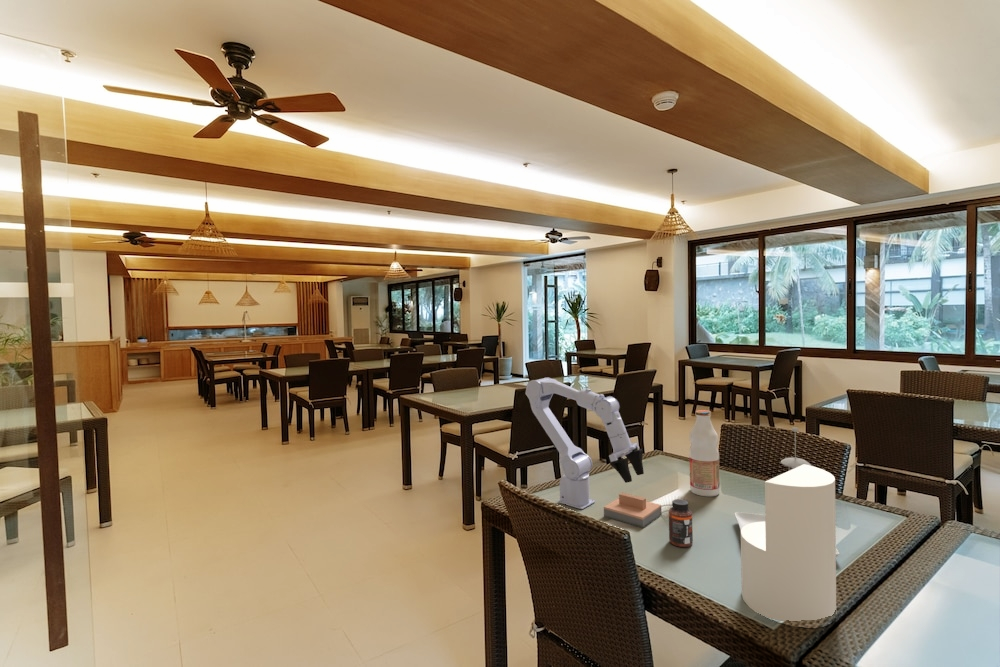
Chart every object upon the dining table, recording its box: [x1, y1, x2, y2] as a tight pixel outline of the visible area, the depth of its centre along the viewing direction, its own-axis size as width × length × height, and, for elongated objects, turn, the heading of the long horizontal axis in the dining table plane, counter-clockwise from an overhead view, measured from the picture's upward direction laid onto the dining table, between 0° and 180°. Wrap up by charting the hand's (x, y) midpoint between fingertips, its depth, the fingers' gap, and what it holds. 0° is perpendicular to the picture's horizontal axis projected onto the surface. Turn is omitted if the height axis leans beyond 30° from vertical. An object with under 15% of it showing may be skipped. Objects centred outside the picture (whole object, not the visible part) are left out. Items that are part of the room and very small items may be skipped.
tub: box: [603, 507, 662, 529], centre depth 150 cm, size 13×12×2 cm
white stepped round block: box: [740, 464, 837, 621], centre depth 103 cm, size 17×17×28 cm
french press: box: [780, 426, 812, 471], centre depth 153 cm, size 10×12×25 cm
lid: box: [603, 492, 662, 520], centre depth 150 cm, size 13×12×4 cm
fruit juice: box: [688, 409, 721, 497], centre depth 167 cm, size 9×9×28 cm
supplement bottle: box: [668, 498, 694, 548], centre depth 131 cm, size 6×6×11 cm
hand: (634, 478), depth 148 cm, fingers open, 7 cm apart
